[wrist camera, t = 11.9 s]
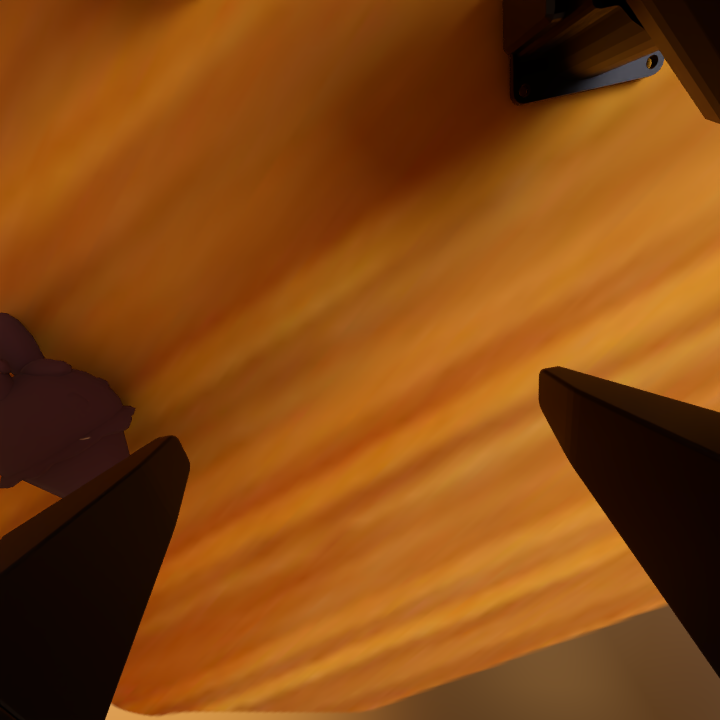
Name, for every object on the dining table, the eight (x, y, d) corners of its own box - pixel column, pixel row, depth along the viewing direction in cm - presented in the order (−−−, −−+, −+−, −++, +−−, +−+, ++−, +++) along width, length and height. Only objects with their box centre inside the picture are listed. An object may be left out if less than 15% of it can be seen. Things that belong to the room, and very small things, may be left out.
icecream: (187, 541, 21) (-11, 291, 16) (58, 609, 20) (-190, 372, 15) (208, 473, 27) (72, 281, 22) (111, 522, 26) (-50, 337, 22)
